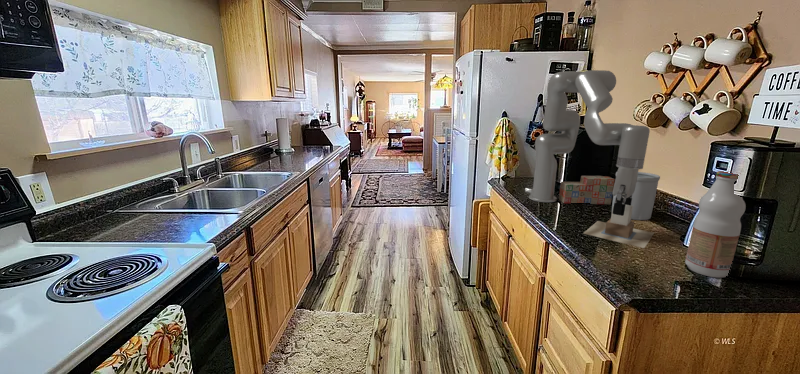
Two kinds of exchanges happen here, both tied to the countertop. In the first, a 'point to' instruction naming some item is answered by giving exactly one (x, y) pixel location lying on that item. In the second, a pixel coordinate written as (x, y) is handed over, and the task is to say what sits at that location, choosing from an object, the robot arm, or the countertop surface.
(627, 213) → the cream block
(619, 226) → the walnut foundation
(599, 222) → the board
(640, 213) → the utensil holder
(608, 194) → the stack of blocks
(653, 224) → the countertop surface
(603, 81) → the robot arm
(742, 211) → the fruit juice
